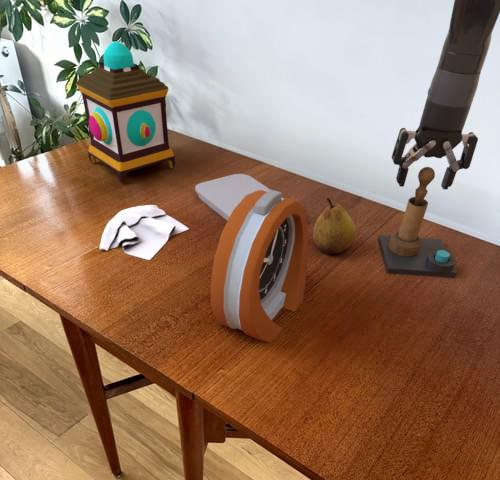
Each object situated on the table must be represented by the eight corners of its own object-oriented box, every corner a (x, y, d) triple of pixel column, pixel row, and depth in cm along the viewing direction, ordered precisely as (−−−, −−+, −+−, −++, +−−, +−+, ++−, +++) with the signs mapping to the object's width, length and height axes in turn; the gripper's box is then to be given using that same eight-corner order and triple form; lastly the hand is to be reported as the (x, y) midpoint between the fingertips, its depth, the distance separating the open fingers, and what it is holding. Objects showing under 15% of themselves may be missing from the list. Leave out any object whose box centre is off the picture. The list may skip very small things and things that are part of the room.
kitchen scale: (439, 244, 105) (443, 232, 103) (454, 278, 96) (459, 266, 94) (377, 240, 106) (380, 228, 104) (387, 274, 96) (390, 262, 94)
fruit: (357, 245, 104) (368, 195, 95) (339, 264, 98) (350, 212, 90) (322, 233, 107) (331, 183, 99) (304, 250, 101) (311, 199, 93)
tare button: (445, 256, 97) (448, 250, 96) (449, 263, 95) (451, 257, 94) (433, 255, 97) (435, 249, 96) (436, 262, 95) (438, 256, 94)
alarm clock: (259, 357, 77) (268, 238, 62) (209, 335, 80) (206, 218, 65) (312, 288, 91) (330, 178, 76) (268, 272, 95) (276, 164, 79)
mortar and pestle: (405, 260, 98) (431, 178, 85) (382, 246, 101) (403, 165, 89) (425, 250, 101) (453, 170, 88) (402, 237, 104) (425, 158, 92)
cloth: (156, 201, 115) (155, 192, 113) (204, 241, 102) (203, 232, 101) (76, 224, 106) (74, 215, 104) (117, 271, 93) (115, 261, 91)
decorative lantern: (120, 188, 119) (98, 55, 99) (82, 162, 130) (56, 38, 109) (183, 168, 130) (175, 44, 109) (143, 146, 140) (130, 29, 119)
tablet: (243, 180, 126) (243, 171, 124) (304, 221, 110) (305, 213, 109) (190, 193, 118) (190, 185, 117) (248, 240, 103) (248, 231, 102)
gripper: (413, 102, 78) (389, 193, 89) (498, 107, 77) (464, 197, 88) (404, 89, 83) (383, 176, 94) (484, 93, 83) (453, 180, 94)
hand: (422, 186), depth 91 cm, fingers open, 8 cm apart
